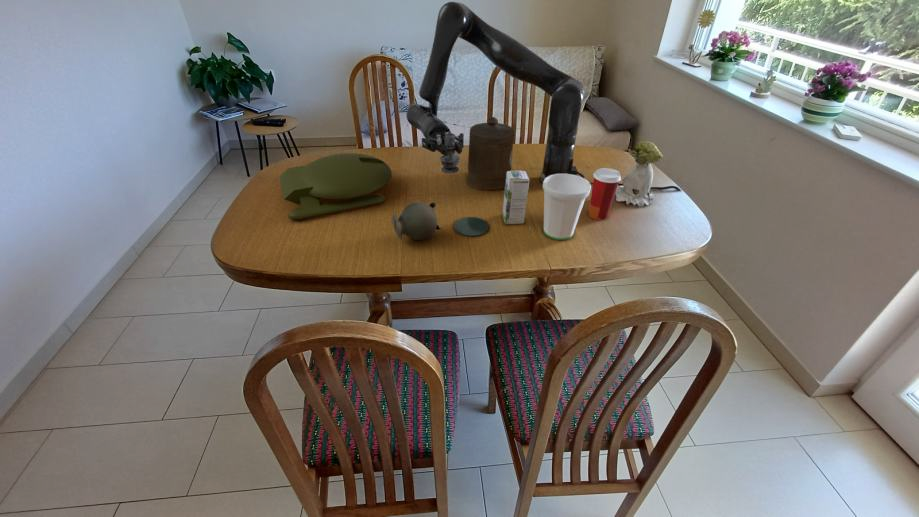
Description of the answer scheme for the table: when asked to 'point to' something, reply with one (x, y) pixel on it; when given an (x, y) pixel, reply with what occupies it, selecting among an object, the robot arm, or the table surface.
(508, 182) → the syrup box
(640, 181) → the white green figurine
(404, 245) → the table surface
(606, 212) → the paper cup
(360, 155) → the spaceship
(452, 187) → the table surface
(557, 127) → the robot arm
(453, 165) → the stone chess piece
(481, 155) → the wooden container
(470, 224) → the coaster
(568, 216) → the cup
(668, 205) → the table surface
